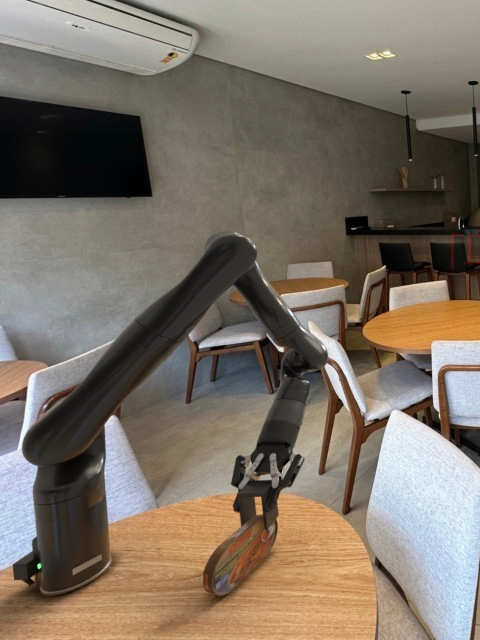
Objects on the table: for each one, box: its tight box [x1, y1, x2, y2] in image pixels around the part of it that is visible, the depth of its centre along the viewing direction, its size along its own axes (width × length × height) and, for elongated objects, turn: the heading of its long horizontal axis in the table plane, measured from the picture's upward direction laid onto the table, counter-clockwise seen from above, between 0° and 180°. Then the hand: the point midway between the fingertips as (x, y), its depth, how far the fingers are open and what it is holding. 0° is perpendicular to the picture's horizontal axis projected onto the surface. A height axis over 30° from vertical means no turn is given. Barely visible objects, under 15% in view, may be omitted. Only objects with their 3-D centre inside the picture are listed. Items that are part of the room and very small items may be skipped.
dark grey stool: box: [236, 479, 279, 530], centre depth 83 cm, size 5×4×8 cm
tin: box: [202, 513, 279, 597], centre depth 79 cm, size 15×3×8 cm, turn 168°
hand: (252, 511), depth 81 cm, fingers closed on dark grey stool, 5 cm apart
